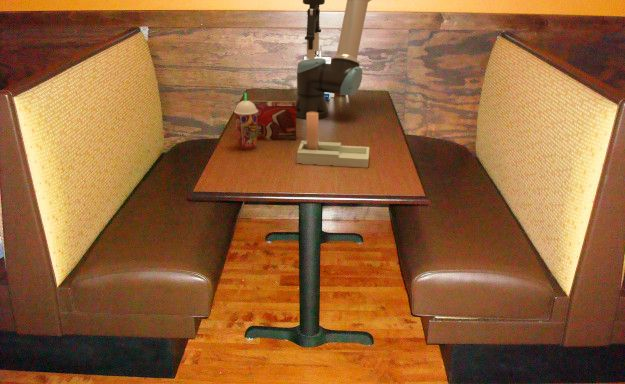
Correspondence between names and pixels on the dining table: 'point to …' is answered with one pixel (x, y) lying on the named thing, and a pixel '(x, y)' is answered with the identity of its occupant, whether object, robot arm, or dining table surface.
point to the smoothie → (246, 124)
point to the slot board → (343, 160)
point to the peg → (312, 131)
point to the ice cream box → (276, 120)
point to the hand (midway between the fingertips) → (312, 54)
